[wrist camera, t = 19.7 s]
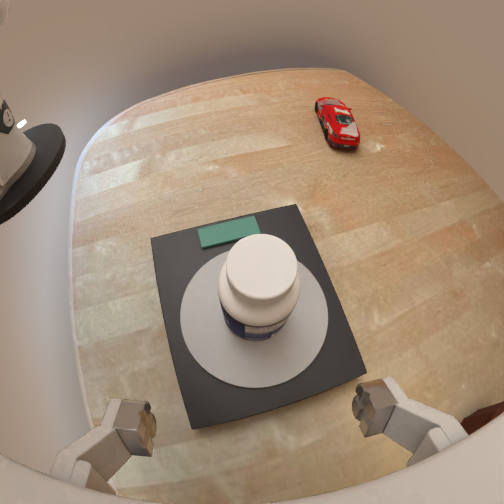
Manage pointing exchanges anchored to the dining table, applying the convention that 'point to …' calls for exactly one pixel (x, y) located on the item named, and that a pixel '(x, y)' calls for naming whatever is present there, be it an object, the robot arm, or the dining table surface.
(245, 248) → the pill bottle
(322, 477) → the dining table surface
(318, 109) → the race car
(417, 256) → the dining table surface
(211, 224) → the scale
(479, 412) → the muffin
